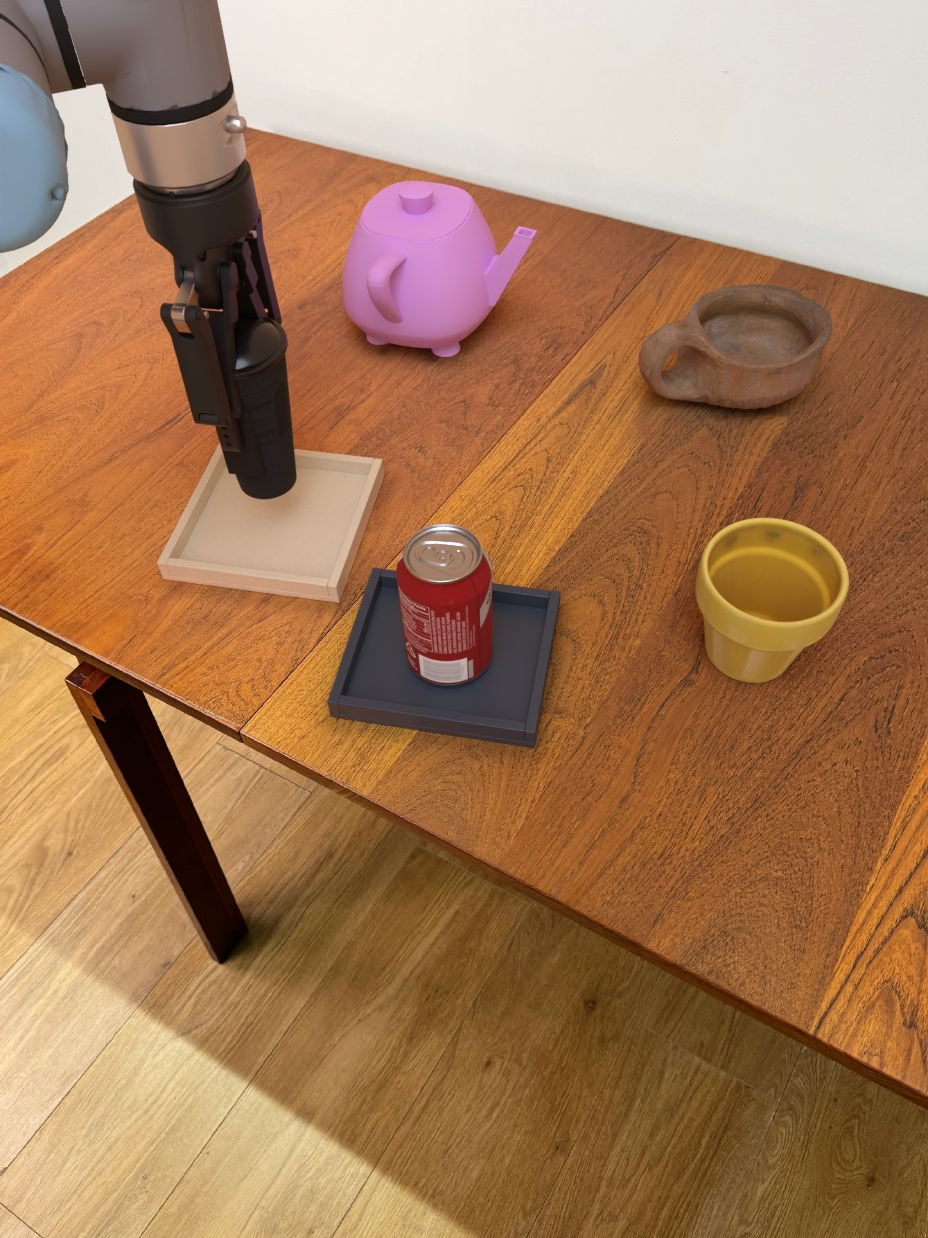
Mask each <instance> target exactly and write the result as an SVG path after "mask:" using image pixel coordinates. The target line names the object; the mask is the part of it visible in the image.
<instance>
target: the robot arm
mask: <svg viewBox="0 0 928 1238" xmlns="http://www.w3.org/2000/svg"><path fill="white" fill-rule="evenodd" d="M220 12H221V11H220V7H219V1H218V0H0V254H5V253H9V252H14V251H17V250H20V249H21V248H25V247H27V246H29V245H31V244H34V242H36V241H38V240H40V238H42V237H43V236H44V235H46V234H47V233H48V231H49V230H51V229H52V227H53V226H54V225H55V223H56V222H57V221H58V219H59V217H60V216H61V214H62V212H63V209H64V206H65V203H66V200H67V196H68V193H69V190H70V186H69V172H68V165H67V164H68V157H69V156H68V155H69V154H68V153H69V144H68V142H67V139H66V134H65V132H66V130H65V123H64V120H63V119H62V117H61V115H60V111H59V109H58V108H57V106H56V105H55V103H56V102H55V99H54V96H53V95H55V94H60V93H66V92H70V91H76V90H81V89H86V88H87V87H90V86H95V85H102V87H103V89H104V91H105V97H106V100H107V103H108V107H109V109H110V115H111V117H112V120H113V124H114V127H115V131H116V135H117V138H118V141H119V145H120V149H121V153H122V157H123V160H124V164H125V168H126V170H127V173H128V174H129V175H131V177H132V178H133V179H132V187H133V191H134V195H135V198H136V201H137V205H138V208H139V211H140V214H141V217H142V221H143V224H144V227H145V230H146V232H147V234H148V236H149V237H150V238H151V239H152V240H153V241H154V242H155V243H157V244H159V245H160V246H161V247H162V248H164V249H165V250H166V251H167V252H168V253H169V254H170V255H171V256H172V261H173V274H174V281H175V284H176V286H177V288H178V289H179V290H178V292H177V295H176V297H175V301H174V302H173V303H171V302H162V303H161V305H160V308H159V315H160V317H159V318H160V319H161V321H162V323H163V325H164V327H165V329H166V330H167V332H168V334H169V336H170V338H171V342H172V346H173V350H174V353H175V357H176V361H177V364H178V367H179V372H180V375H181V379H182V383H183V386H184V390H185V393H186V397H187V398H186V399H187V401H188V404H189V409H190V412H191V415H192V420H193V423H194V424H195V425H204V426H213V427H215V431H216V434H217V438H218V440H219V443H220V445H221V448H222V452H223V455H224V458H225V462H226V465H227V469H228V472H229V474H237V475H246V476H254V477H262V474H263V472H264V468H263V464H262V460H261V456H260V452H259V449H258V445H257V441H256V437H255V433H254V429H253V425H252V421H251V417H250V414H249V411H248V408H247V407H245V408H241V399H240V389H239V386H238V383H237V380H235V379H234V372H235V370H236V363H237V361H236V352H235V342H234V333H233V324H234V323H236V322H237V321H238V316H247V317H253V318H258V319H263V318H264V317H268V318H270V319H272V320H274V321H276V322H277V323H279V324H280V325H281V326H282V324H283V323H282V322H283V319H282V313H281V310H280V306H279V301H278V297H277V293H276V287H275V284H274V280H273V275H272V271H271V265H270V262H269V257H268V253H267V249H266V245H265V241H264V229H263V217H262V212H261V209H260V207H259V202H258V197H257V193H256V192H257V191H256V187H255V181H254V178H253V172H252V168H251V165H250V164H251V163H250V162H249V161H248V160H247V158H246V156H247V146H246V142H245V137H244V133H245V132H246V131H247V129H248V123H247V120H246V118H245V116H242V115H240V112H239V108H238V102H237V96H236V92H235V88H234V86H235V85H234V80H233V75H232V71H231V66H230V60H229V55H228V54H229V53H228V50H227V45H226V39H225V34H224V30H223V29H224V28H223V24H222V18H221V17H222V16H221V13H220ZM222 309H224V311H222ZM266 310H267V311H266ZM236 329H237V328H236ZM238 330H239V329H237V331H238Z"/></svg>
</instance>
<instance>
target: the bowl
mask: <svg viewBox="0 0 928 1238" xmlns="http://www.w3.org/2000/svg"><path fill="white" fill-rule="evenodd" d="M832 333H833V319H832V316H831V314H830V312H828V310H827V309H825V308H824V307H823V306H822V304H820V303H818V302H817V301H816V300H813V299H811V298H809V297H807V296H805V295H804V294H802V293H801V292H799V291H798V290H796V289H792V288H788V287H783V286H776V285H772V284H760V283H751V284H749V283H748V284H735V285H727V286H723V287H720V288H719V287H718V288H717V289H715V290H714V291H709V292H706V293H703V295H701V297H699V298H698V299H697V300H696V301H695V302H694V303H693V304H692V305H691V308H689V311H688V312H687V315H686V317H685V318H683V319H680V320H676V321H671V322H669V323H667V324H664V325H662V326H660V327H659V328H656V330H654V331H653V332H652V333H650V334H649V335H648V337H647V338H646V339H645V340H644V341H643V343H642V345H641V347H640V349H639V353H638V369H639V372H640V375H641V377H642V379H643V381H644V383H645V385H646V386H647V387H648V389H649V390H651V391H652V393H654V394H655V395H657V396H659V397H662V398H665V399H668V400H672V401H673V400H675V401H689V402H695V403H706V404H708V405H710V406H720V407H723V408H731V409H740V410H749V409H752V410H757V409H760V408H763V409H764V408H770V407H772V406H774V405H780V404H781V403H783V402H786V401H789V400H791V399H793V398H795V397H798V396H799V395H800V394H801V393H802V392H803V391H805V390H806V389H807V388H808V387H809V385H810V383H811V382H812V381H813V380H814V379H815V377H816V375H817V372H818V370H820V369H819V368H820V365H821V361H822V359H823V358H822V357H823V354H824V349H825V348H826V346H827V344H828V342H829V341H830V338H831V336H832ZM676 351H677V353H676V354H677V355H676V360H675V362H674V364H673V365H672V366H671V367H670V368H668V369H666V370H664V369H663V368H664V365H665V363H666V362H667V360H668V359H669V358H670V357H671V356H672V355H673V354H674V353H675V352H676ZM662 369H663V370H662Z"/></svg>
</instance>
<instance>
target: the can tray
mask: <svg viewBox="0 0 928 1238" xmlns="http://www.w3.org/2000/svg"><path fill="white" fill-rule="evenodd" d="M560 604H561V591H559V590H550V589H541V588H534V587H526V586H520V585H519V586H518V585H511V584H503V583H495V582H492V626H493V654H492V658H491V661H490V663H489V665H488V667H487V668H486V669H485V671H484V672H483V673H482V674H481V675H479V676H478V677H477V678H475V679H473V680H471V681H469V682H467V683H464V684H460V685H454V686H442V685H436V684H433V683H430V682H427V681H425V680H423V679H422V678H420V677H419V676H418V675H417V674H416V673H415V672H414V671H413V670H412V669H411V667H410V665H409V663H408V661H407V657H406V649H405V641H404V633H403V625H402V617H401V609H400V601H399V593H398V585H397V577H396V569H387V568H381V567H372V569H371V571H370V574H369V577H368V580H367V584H366V585H365V589H364V592H363V595H362V598H361V600H360V603H359V607H358V610H357V613H356V615H355V618H354V621H353V625H352V628H351V630H350V633H349V635H348V640H347V642H346V645H345V648H344V651H343V654H342V656H341V660H340V663H339V666H338V668H337V673H336V675H335V678H334V680H333V684H332V687H331V690H330V692H329V695H328V699H327V706H328V711H329V714H330V717H331V718H335V719H341V720H347V721H355V722H360V723H368V724H375V725H381V726H388V727H394V728H400V729H407V730H412V731H413V730H414V731H420V732H427V733H433V734H439V735H446V736H451V737H452V736H453V737H459V738H467V739H473V740H480V741H486V742H492V743H499V744H505V745H512V746H518V747H524V748H531V749H535V747H536V743H537V737H538V733H539V724H540V720H541V715H542V708H543V704H544V698H545V690H546V685H547V680H548V674H549V670H550V663H551V657H552V653H553V646H554V640H555V635H556V629H557V624H558V618H559V612H560V606H561V605H560Z"/></svg>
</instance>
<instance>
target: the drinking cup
mask: <svg viewBox="0 0 928 1238" xmlns="http://www.w3.org/2000/svg"><path fill="white" fill-rule="evenodd" d="M221 311H224V309H221ZM236 328H237V329H239V330H238V331H237V329H236ZM233 333H234V342H235V352H236V361H237V363H236V370H235V372H234V379H235V380H237V383H238V386H239V389H240V399H241V408H245V407H247V408H248V411H249V414H250V417H251V421H252V425H253V429H254V433H255V437H256V441H257V445H258V449H259V452H260V456H261V460H262V464H263V468H264V472H263V474H262V477H254V476H246V475H237V474H235V475H236V478H237V480H238V483H239V485H240V487H241V489H242V491H243V492H244V493H245V494H246V495H248V496H250V497H252V498H256V499H273V498H276V497H279V496H282V495H284V494H285V493H287V492H288V491H289V490H290V489H291V488H292V487H293V486H294V484H295V482H296V479H297V474H296V463H295V452H294V449H295V443H294V432H293V420H292V410H291V400H290V399H291V398H290V390H289V389H290V388H289V377H288V376H289V375H288V368H287V365H288V364H287V358H286V357H287V355H286V353H287V350H288V345H289V341H288V335H287V332H286V330H285V329H284V327H283V326H282V324H281V325H280V324H279V323H277V322H276V321H274V320H272V319H270V318H268V317H264V318H263V319H258V318H253V317H247V316H238V321H237V322H236V323H234V324H233Z"/></svg>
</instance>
